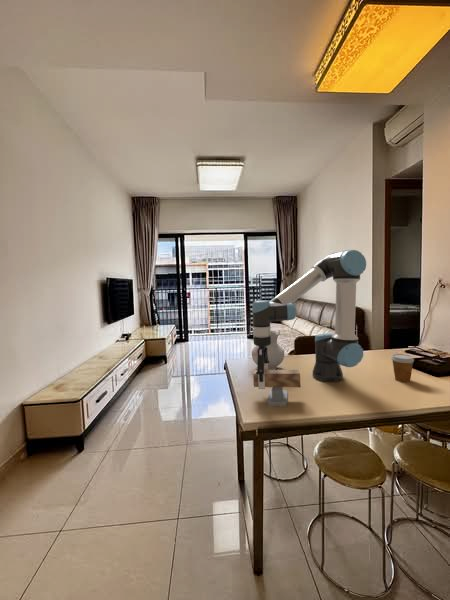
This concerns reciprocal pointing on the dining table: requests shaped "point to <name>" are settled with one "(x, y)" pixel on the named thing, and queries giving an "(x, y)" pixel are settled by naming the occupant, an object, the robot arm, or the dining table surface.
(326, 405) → the dining table surface
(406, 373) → the disposable coffee cup
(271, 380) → the walnut bar
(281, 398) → the fulcrum
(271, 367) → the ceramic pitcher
